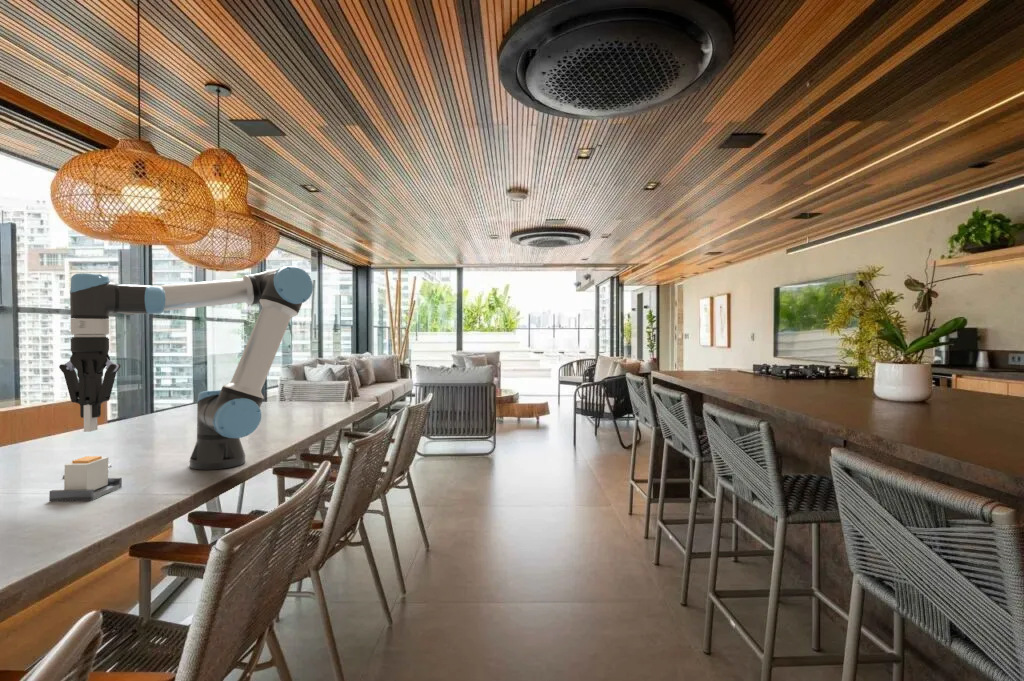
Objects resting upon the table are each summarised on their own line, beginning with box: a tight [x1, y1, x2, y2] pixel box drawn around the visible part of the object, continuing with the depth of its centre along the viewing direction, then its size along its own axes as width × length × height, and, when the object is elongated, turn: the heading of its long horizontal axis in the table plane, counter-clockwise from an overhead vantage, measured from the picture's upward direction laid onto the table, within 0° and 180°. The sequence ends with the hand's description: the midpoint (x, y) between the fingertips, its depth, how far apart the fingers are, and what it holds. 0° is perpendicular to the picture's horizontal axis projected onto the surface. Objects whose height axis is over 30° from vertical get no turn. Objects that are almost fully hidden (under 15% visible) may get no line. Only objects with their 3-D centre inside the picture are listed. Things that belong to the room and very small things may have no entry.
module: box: [63, 455, 109, 490], centre depth 132 cm, size 5×8×8 cm, turn 7°
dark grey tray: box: [48, 477, 123, 502], centre depth 132 cm, size 9×12×2 cm
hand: (90, 430), depth 132 cm, fingers closed
